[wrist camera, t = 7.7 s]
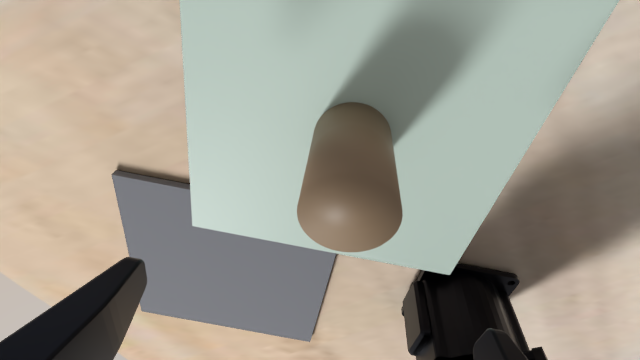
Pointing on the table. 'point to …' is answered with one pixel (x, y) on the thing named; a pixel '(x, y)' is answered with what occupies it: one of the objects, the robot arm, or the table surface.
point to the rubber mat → (217, 265)
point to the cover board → (388, 62)
